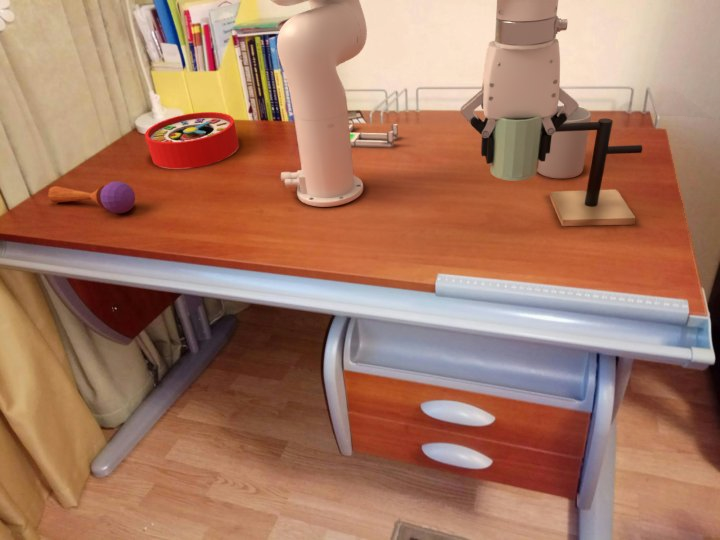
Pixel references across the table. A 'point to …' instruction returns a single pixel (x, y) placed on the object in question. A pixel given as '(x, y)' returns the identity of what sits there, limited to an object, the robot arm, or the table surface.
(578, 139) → the mug
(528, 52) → the robot arm
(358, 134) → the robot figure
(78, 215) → the table surface
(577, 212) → the mug holder
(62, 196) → the purple maraca
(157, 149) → the toy clock
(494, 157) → the small mug
